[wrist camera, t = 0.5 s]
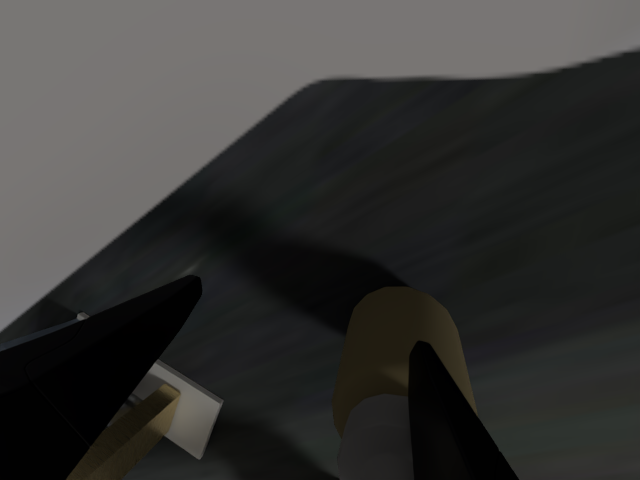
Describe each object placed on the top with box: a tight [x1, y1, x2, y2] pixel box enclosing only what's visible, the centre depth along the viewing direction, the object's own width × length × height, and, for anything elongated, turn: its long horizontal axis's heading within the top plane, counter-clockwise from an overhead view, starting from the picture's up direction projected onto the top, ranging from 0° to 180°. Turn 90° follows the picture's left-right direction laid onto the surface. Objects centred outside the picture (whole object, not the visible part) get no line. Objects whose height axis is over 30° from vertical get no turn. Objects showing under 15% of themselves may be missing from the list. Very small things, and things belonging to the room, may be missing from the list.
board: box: [77, 312, 223, 460], centre depth 31 cm, size 22×8×1 cm, turn 68°
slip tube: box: [66, 384, 181, 480], centre depth 25 cm, size 11×6×11 cm, turn 68°
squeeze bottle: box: [332, 287, 478, 480], centre depth 14 cm, size 8×8×18 cm
